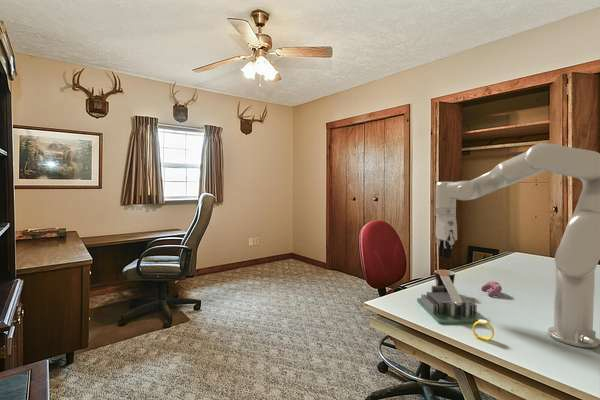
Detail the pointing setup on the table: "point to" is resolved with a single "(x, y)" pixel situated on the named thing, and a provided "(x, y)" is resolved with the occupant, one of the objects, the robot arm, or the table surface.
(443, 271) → the steel strap
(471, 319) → the heat sink base
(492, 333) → the watch
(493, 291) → the video game controller
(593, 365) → the table surface
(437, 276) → the coffee mug
